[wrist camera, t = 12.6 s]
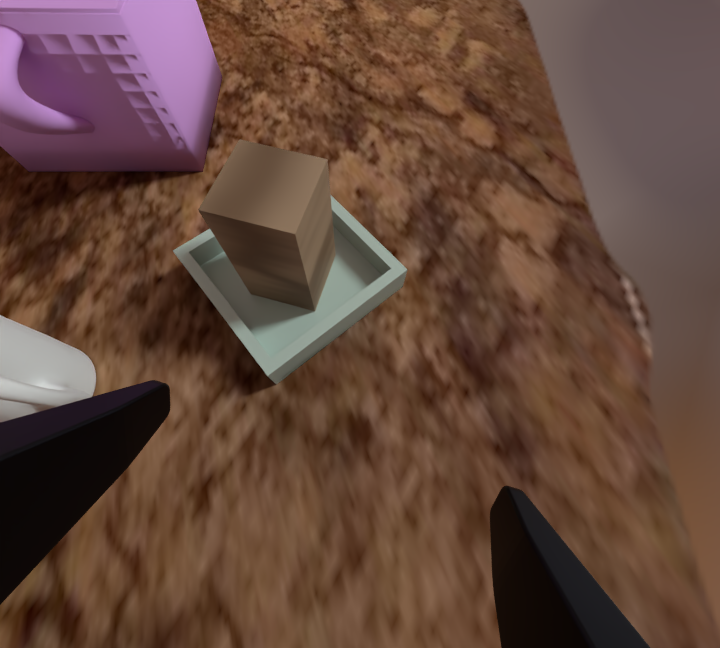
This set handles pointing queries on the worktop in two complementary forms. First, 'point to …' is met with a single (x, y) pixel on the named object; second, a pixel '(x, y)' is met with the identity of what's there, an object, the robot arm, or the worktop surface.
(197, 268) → the tray
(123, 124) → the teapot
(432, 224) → the worktop surface
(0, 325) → the mug
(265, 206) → the walnut block
